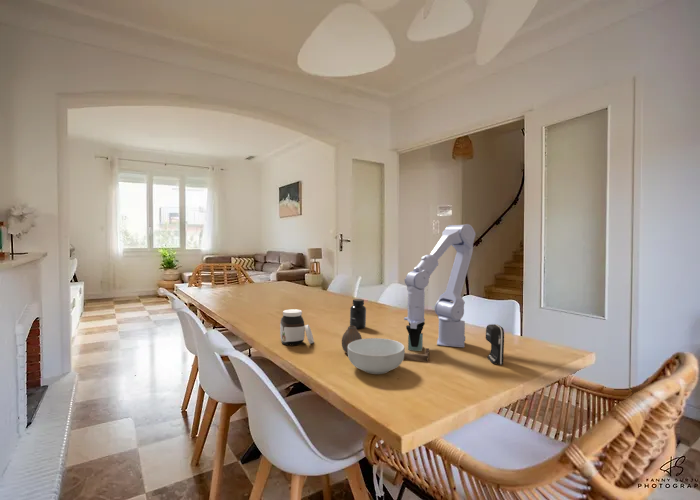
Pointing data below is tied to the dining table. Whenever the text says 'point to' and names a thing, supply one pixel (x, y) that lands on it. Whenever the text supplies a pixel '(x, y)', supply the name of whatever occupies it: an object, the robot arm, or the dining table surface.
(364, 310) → the supplement bottle
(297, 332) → the spread jar
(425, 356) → the brown angular piece
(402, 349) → the cereal bowl
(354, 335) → the vase
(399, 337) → the dining table surface
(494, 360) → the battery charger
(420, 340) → the block
